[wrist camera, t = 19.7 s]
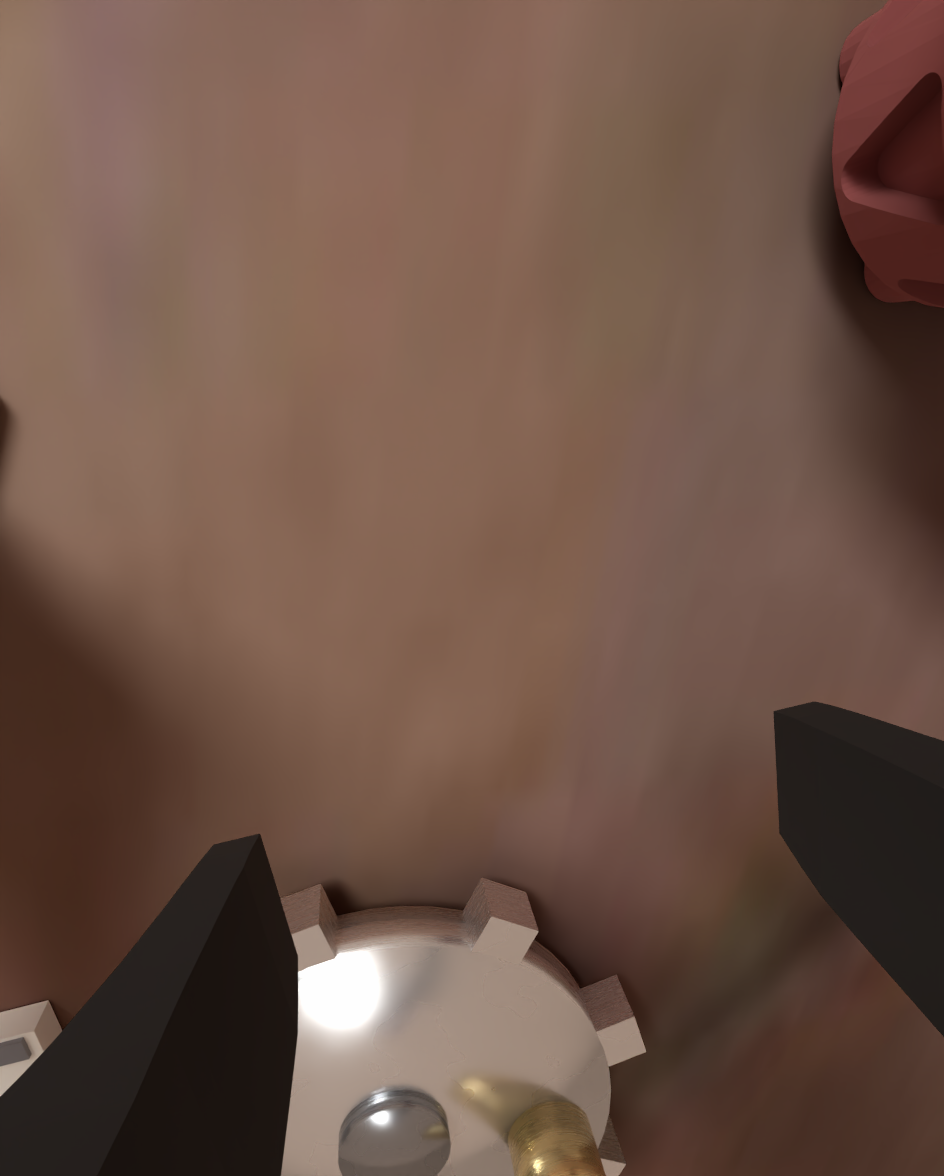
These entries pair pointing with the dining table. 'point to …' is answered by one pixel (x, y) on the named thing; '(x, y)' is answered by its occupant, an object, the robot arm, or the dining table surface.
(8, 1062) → the guide plate
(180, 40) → the dining table surface
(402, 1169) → the sprocket wheel
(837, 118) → the mechanical component
